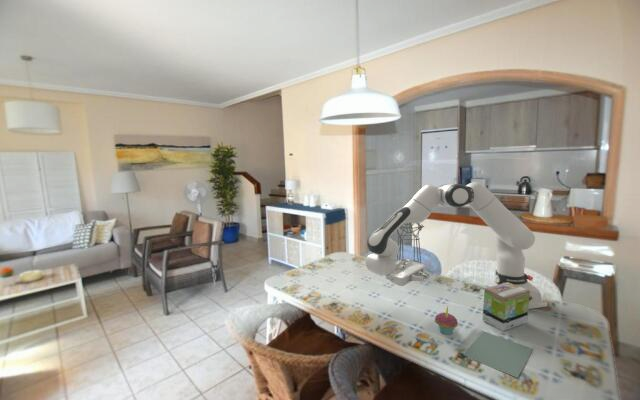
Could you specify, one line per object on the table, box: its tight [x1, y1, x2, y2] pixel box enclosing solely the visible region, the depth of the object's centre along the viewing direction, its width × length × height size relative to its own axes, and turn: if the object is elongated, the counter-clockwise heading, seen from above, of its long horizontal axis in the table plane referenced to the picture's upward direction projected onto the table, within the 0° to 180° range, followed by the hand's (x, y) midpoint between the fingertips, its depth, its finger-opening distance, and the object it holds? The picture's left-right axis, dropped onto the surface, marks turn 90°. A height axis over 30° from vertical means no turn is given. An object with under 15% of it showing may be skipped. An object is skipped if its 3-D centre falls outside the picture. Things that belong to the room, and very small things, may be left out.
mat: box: [462, 330, 534, 379], centre depth 109 cm, size 20×20×1 cm
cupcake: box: [434, 305, 459, 335], centre depth 121 cm, size 9×8×12 cm
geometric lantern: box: [396, 223, 425, 264], centre depth 182 cm, size 16×16×35 cm
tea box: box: [482, 282, 530, 332], centre depth 125 cm, size 15×10×15 cm, turn 114°
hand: (425, 278), depth 125 cm, fingers closed
